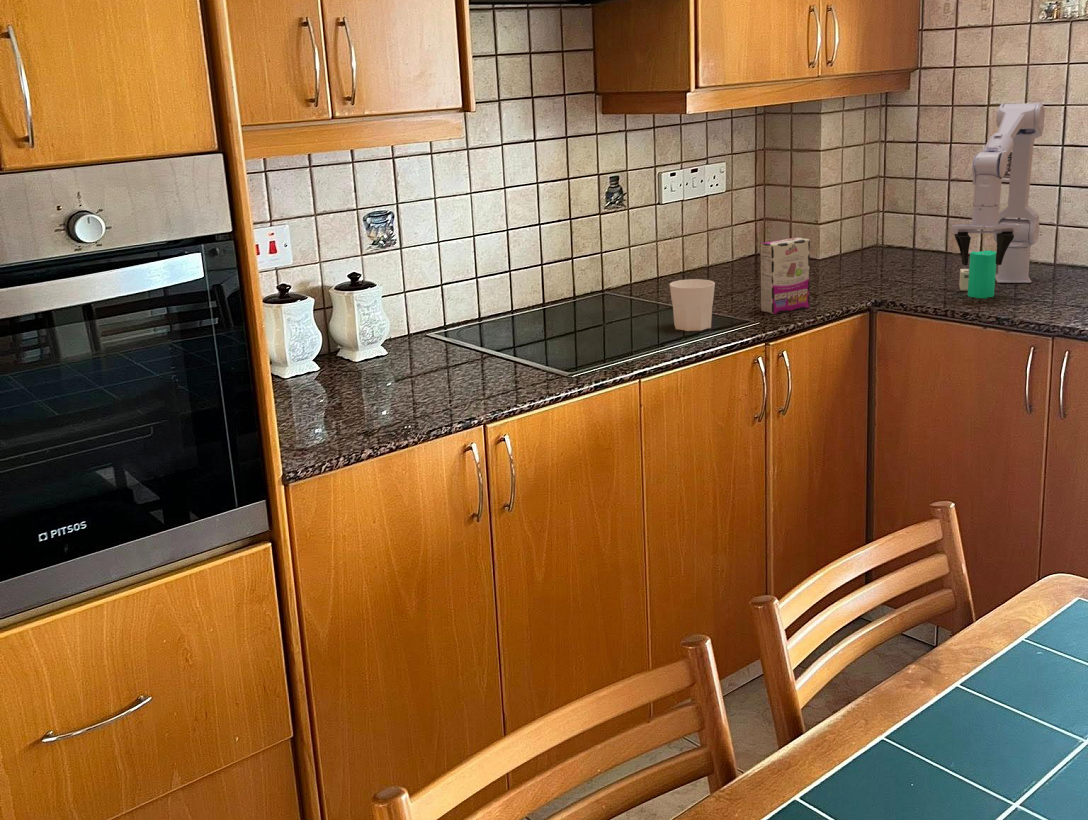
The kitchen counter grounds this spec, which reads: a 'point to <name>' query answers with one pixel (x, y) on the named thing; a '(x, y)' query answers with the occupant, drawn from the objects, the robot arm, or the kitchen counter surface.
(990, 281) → the candle
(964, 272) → the letter cube
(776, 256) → the candy bar box
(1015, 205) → the robot arm
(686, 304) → the cup
